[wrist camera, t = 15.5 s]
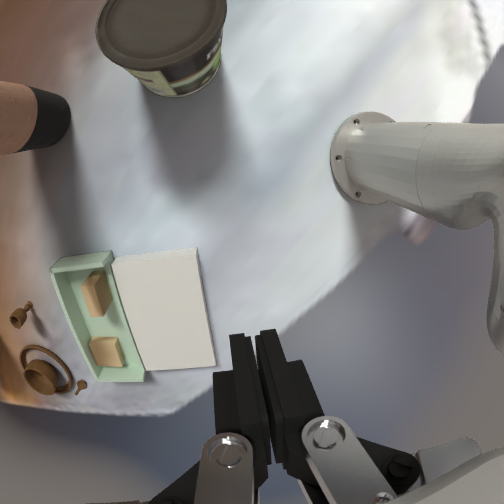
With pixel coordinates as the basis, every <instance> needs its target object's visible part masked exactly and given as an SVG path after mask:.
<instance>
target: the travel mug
mask: <svg viewBox="0 0 504 504" xmlns="http://www.w3.org/2000/svg"><path fill="white" fill-rule="evenodd" d="M69 122H70V108H69V105H68V103H67V101H66V100H65V99H64V98H63V97H61V96H59V95H57V94H54V93H51V92H47V91H44V90H40V89H37V88H33V87H30V86H26V85H21V84H15V83H9V82H3V81H0V155H6V154H12V153H17V152H21V151H26V150H32V149H37V148H42V147H47V146H51V145H53V144H55V143H57V142H58V141H59V140H60V139H61V138H62V137H63V136H64V134H65V133H66V131H67V129H68V126H69Z"/></svg>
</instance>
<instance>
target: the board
mask: <svg viewBox="0 0 504 504" xmlns="http://www.w3.org/2000/svg"><path fill="white" fill-rule="evenodd" d="M111 265H112V269H113V273H114V277H115V280H116V284H117V287H118V291H119V294H120V297H121V301H122V304H123V307H124V310H125V313H126V316H127V319H128V322H129V325H130V328H131V331H132V334H133V337H134V340H135V342H136V345H137V348H138V351H139V353H140V356H141V358H142V361H143V364H144V366H145V369H146V371H149V370H169V369H184V368H197V367H208V366H216V355H215V350H214V345H213V340H212V335H211V329H210V324H209V318H208V313H207V307H206V302H205V296H204V290H203V284H202V278H201V272H200V265H199V259H198V252H197V247H195V248H186V249H178V250H170V251H161V252H153V253H145V254H137V255H129V256H121V257H116V259H115V260H114V262H113V263H112V264H111Z"/></svg>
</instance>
